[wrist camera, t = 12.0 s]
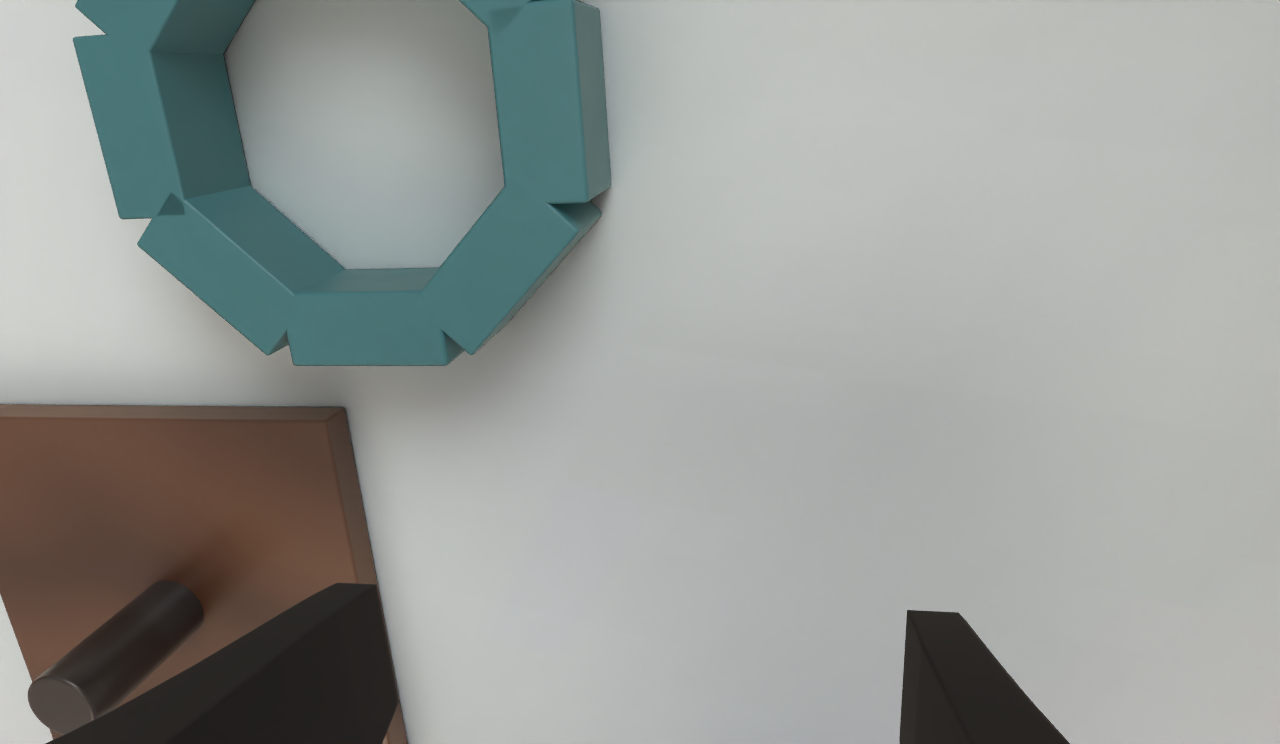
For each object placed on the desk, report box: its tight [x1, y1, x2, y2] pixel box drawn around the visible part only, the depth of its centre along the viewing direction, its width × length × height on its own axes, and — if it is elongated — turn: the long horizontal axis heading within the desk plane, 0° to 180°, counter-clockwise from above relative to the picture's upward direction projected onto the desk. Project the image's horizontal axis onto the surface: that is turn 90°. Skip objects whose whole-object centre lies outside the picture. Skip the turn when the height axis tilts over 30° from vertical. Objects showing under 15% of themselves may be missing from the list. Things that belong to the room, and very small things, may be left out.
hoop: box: [73, 0, 611, 366], centre depth 18 cm, size 10×10×2 cm
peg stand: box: [0, 404, 407, 744], centre depth 22 cm, size 12×12×5 cm
